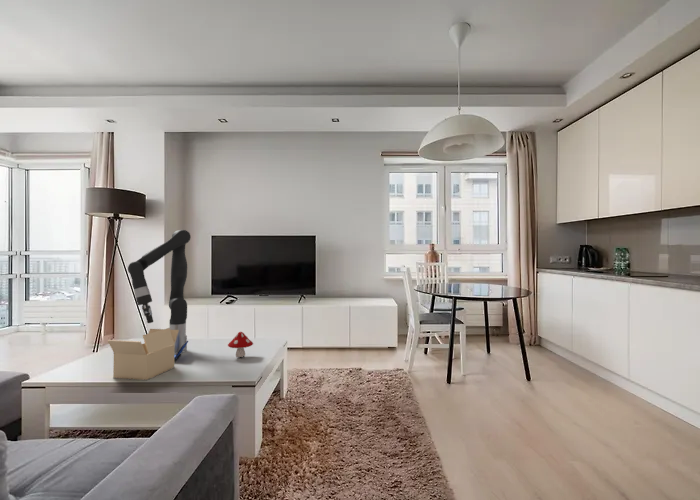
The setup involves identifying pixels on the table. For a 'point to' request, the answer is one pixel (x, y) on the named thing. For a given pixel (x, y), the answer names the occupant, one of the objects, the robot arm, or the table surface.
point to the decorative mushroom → (240, 344)
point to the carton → (141, 359)
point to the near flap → (158, 340)
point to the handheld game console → (179, 352)
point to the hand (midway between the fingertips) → (150, 322)
